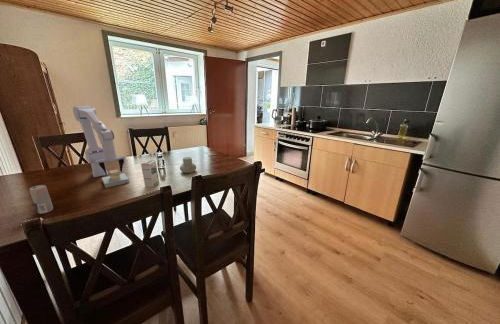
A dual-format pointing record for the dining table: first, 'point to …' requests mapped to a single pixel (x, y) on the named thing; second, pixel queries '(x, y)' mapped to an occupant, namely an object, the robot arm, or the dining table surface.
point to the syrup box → (150, 173)
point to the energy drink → (41, 199)
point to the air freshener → (187, 165)
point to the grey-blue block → (121, 180)
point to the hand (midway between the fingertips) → (113, 172)
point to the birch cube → (114, 174)
